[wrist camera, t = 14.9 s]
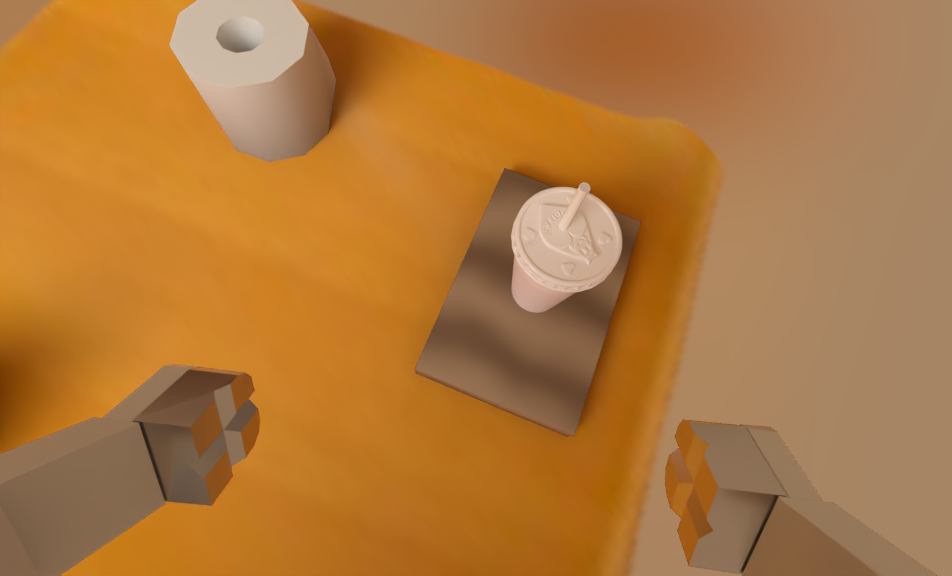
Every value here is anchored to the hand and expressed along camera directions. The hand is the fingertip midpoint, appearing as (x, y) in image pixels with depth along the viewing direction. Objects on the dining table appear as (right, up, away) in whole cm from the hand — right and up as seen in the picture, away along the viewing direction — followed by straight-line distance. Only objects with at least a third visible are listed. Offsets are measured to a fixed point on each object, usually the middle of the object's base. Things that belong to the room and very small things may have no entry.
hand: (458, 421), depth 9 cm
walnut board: (+5, +2, +29) cm, 30 cm away
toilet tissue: (-16, +19, +33) cm, 42 cm away
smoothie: (+5, +2, +27) cm, 28 cm away
